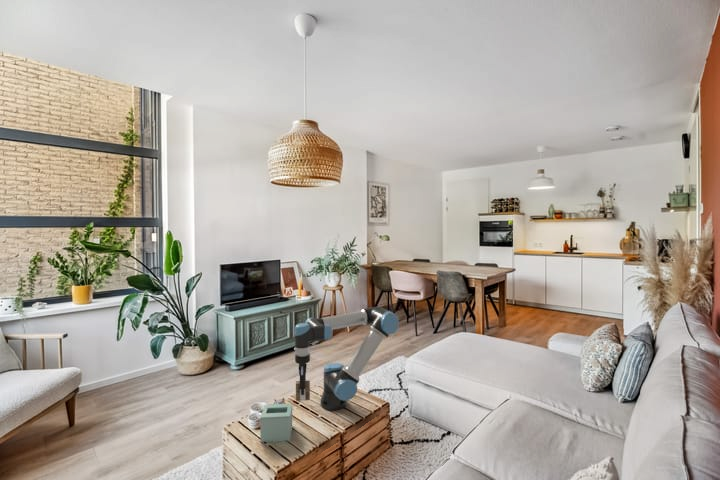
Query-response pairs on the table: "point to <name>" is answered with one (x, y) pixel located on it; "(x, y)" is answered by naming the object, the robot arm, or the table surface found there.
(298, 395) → the brown rectangular block
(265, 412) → the box
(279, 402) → the game die
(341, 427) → the table surface
